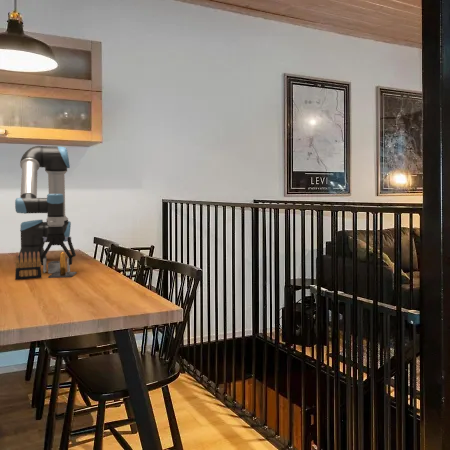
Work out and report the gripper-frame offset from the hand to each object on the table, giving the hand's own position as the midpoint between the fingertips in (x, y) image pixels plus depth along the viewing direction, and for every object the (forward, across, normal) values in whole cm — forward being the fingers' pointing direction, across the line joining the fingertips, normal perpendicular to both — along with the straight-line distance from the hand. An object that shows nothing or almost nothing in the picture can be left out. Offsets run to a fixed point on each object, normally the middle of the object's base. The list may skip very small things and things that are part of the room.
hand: (56, 271), depth 227 cm
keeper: (0, +5, -10) cm, 11 cm away
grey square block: (0, 0, 0) cm, 0 cm away
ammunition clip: (+1, -8, -16) cm, 18 cm away
